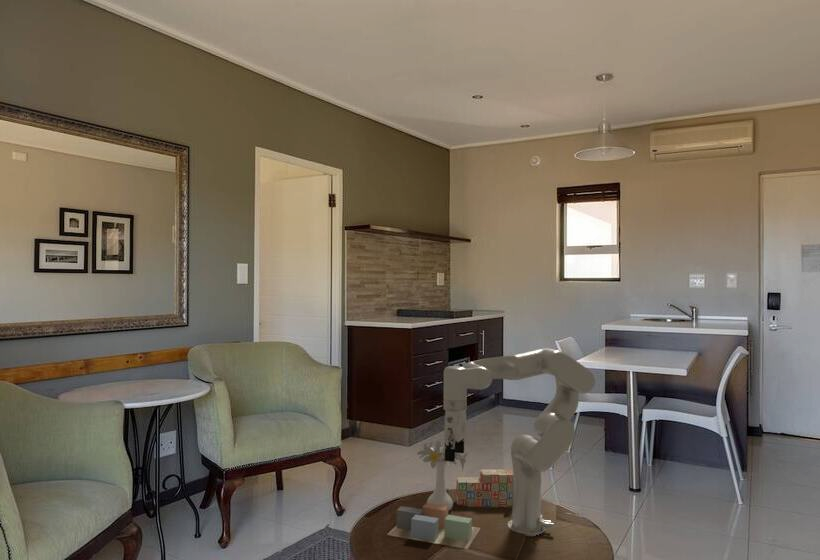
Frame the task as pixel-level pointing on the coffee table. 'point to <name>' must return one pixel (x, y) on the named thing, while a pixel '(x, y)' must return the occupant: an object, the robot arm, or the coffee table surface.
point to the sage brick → (458, 528)
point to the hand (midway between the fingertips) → (454, 456)
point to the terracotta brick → (436, 512)
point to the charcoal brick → (406, 516)
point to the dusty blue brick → (425, 528)
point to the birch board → (439, 540)
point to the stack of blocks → (486, 489)
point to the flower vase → (440, 472)
